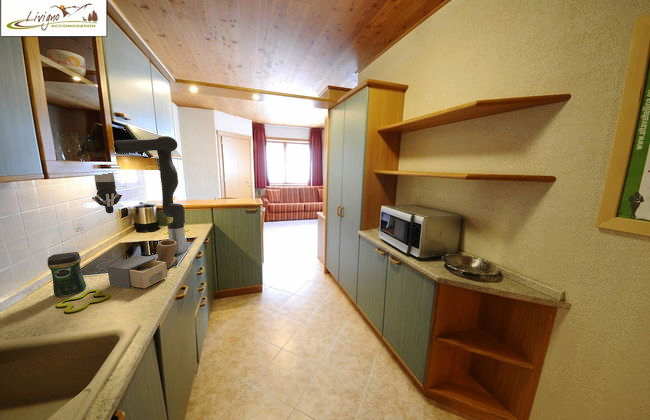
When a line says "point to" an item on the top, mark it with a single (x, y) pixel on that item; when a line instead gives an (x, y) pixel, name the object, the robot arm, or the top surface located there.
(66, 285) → the coffee jar
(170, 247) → the stone cup
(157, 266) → the tray
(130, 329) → the top surface
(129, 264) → the sleeve
